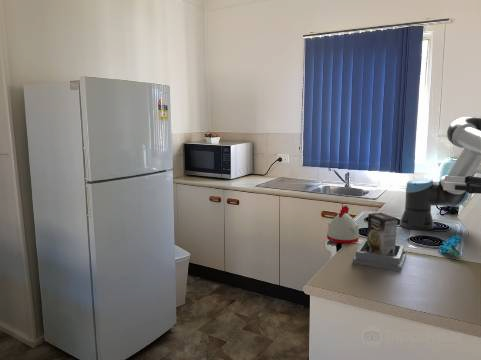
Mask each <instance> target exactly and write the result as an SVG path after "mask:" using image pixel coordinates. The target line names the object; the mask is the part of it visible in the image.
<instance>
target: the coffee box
mask: <svg viewBox="0 0 481 360" xmlns="http://www.w3.org/2000/svg"><path fill="white" fill-rule="evenodd" d="M367 215H368V218H367V236H366V237H367V239H366V240H367V252H368V253H374V254H380V255H387V256H393V257H394V256H395V244H396V240H397V239H396V238H397V227H398V218H397V217H395V216H392V215H388V214H386V213H383V212H373V213H367Z"/></svg>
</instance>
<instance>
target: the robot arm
mask: <svg viewBox="0 0 481 360" xmlns="http://www.w3.org/2000/svg"><path fill="white" fill-rule="evenodd" d="M446 132H447V133H446V136H447V140H448V141H449V143H451V144H452V145H453V146H456V147H458V148H462V151H461V153H460V154H459V156H458V158H457V159H456V161H455V162H454V164H453V166H452V167H451V169H450V171H449V172H448V174H446V175H443V176H442V177H441V179H440V181H433V179H432V178H413V179H410V180H409V181H407V183H406V188H405V203H404V204H405V205H404V206H405V207H404V211H403V213H402V215H401V218H400V221H399V222H400V223H399V225H400V226H401V227H403V228H406V229H409V230H413V231H414V230H415V231H431V230H433V229H434V219H433V216H432V207H433V206H434V207H435V206H436V207H437V206H441V207H442V206H445V207H446V206H447V207H449V206H450V207H455V206H461V205H463V204H464V203H465V202H466V201H467V198H468V195H469V194H470V195H471V194H481V177H478V176H473V175H474V173H475V172H476V170H477V169H478V168H479V167H480V164H481V116H463V117H460V118H458V119H457V118H456V120H454V121H453V122H451V123H450V125H449V126H448V128H447V131H446Z"/></svg>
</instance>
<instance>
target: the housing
mask: <svg viewBox="0 0 481 360" xmlns="http://www.w3.org/2000/svg"><path fill="white" fill-rule="evenodd" d="M406 256H407V250H406V249H405V245H404V244H396V243H395V256H394V257H393V256H387V255H380V254H374V253H368V252H367V239H363V240H362V242H360V245H359V246H358V248H357V250H356V251H355V256H353V258H352V264H355V265H359V266H366V267H373V268H377V269H384V270H389V271H395V272H402V270H403V266H404V263H405V260H406Z"/></svg>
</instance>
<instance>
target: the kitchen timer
mask: <svg viewBox="0 0 481 360" xmlns="http://www.w3.org/2000/svg"><path fill="white" fill-rule="evenodd" d="M349 210H350V208H349V207H348V205H344V206H341V209H340V210H339V212H338V214H337V215H335V216H334V217H333V219H332V220H331V222H328V228H327V229H328V230H327V233H326V238H327V240H328V241H330V242H333V243H337V244H343V245H344V244H345V245H346V244H354V243H357V242H359V241H358V239H359V238H360V233H359V230H360V229H359V225H358V224H357V223H356V221H355V220H354V218H353V217H352V216H351V215H350V214H349ZM359 240H360V239H359Z"/></svg>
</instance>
